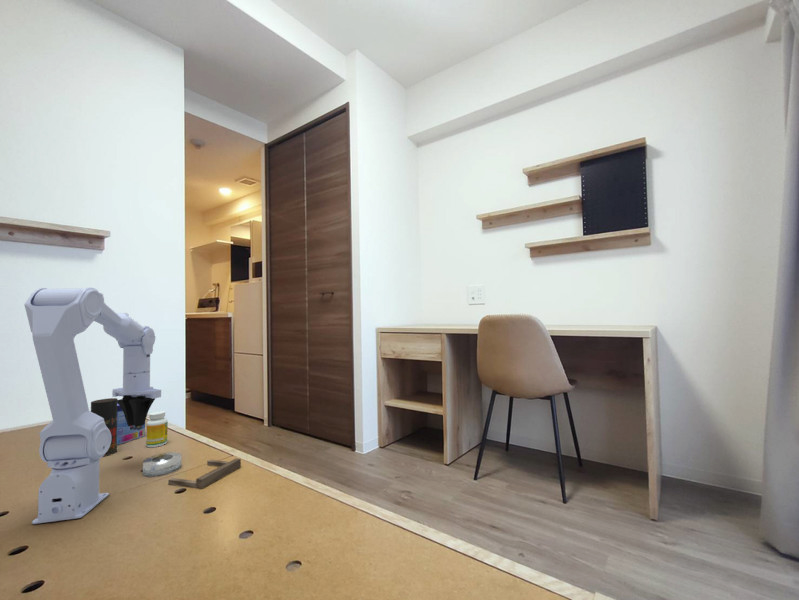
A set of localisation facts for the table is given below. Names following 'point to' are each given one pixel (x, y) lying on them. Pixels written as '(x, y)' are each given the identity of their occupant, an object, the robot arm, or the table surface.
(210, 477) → the cradle
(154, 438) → the supplement bottle
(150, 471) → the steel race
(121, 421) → the ink cartridge box
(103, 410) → the deodorant
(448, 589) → the table surface
